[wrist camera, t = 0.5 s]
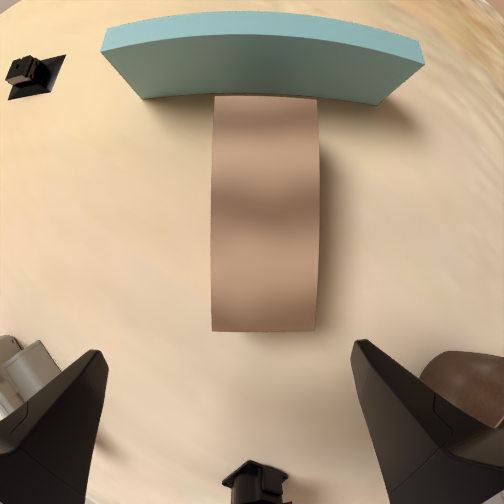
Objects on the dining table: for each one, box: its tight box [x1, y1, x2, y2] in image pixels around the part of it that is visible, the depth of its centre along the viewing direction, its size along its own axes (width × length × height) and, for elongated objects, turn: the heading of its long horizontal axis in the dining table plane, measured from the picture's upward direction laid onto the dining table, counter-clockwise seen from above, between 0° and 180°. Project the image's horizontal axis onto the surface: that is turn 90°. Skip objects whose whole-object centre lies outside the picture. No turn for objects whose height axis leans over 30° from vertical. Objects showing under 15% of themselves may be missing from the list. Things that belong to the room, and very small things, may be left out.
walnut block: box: [211, 96, 320, 332], centre depth 22 cm, size 16×7×8 cm, turn 179°
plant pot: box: [420, 351, 504, 429], centre depth 21 cm, size 15×15×16 cm
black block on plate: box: [5, 55, 66, 100], centre depth 22 cm, size 12×7×5 cm, turn 81°
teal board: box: [100, 11, 425, 106], centre depth 20 cm, size 8×24×10 cm, turn 89°
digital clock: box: [0, 335, 61, 418], centre depth 22 cm, size 16×9×11 cm, turn 22°
